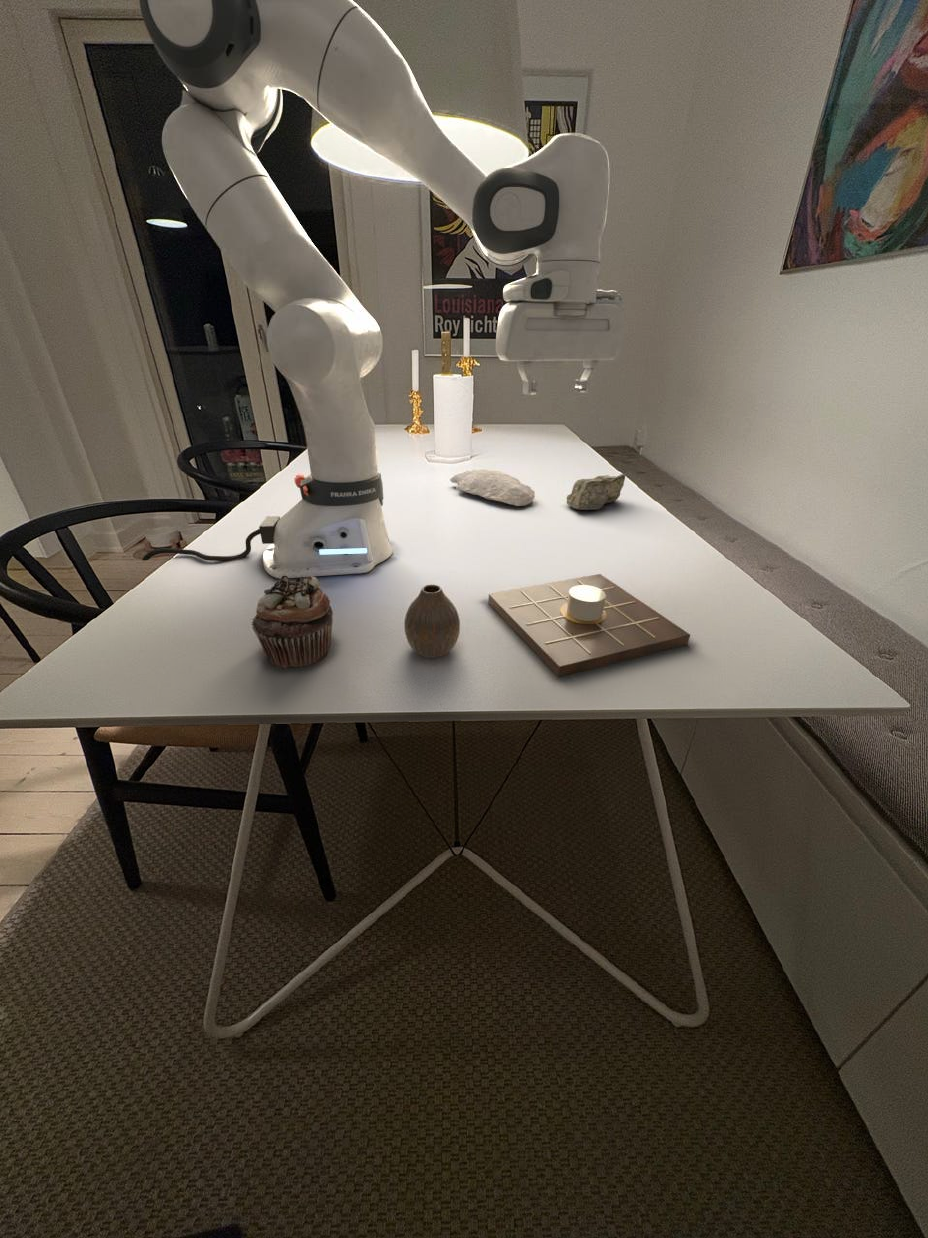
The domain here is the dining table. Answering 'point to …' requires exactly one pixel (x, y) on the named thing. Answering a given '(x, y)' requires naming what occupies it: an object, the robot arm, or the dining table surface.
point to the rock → (595, 492)
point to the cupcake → (294, 622)
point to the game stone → (585, 603)
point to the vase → (432, 623)
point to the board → (585, 625)
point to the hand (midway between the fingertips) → (555, 393)
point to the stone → (494, 486)
